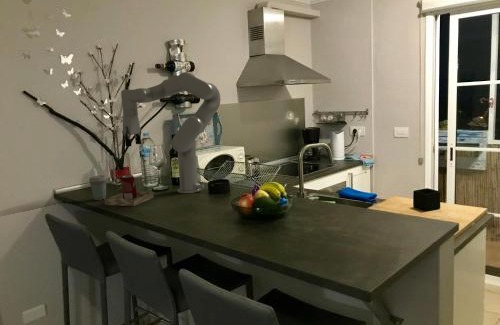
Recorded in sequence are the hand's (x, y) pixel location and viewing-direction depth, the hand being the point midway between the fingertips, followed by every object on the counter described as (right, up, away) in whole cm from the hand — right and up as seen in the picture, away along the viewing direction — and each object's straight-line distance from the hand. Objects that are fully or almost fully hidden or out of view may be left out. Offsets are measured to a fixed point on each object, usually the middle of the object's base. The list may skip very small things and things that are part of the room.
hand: (133, 145), depth 224 cm
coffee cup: (-16, -29, -7) cm, 33 cm away
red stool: (+2, -28, -15) cm, 32 cm away
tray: (+2, -29, -15) cm, 32 cm away
